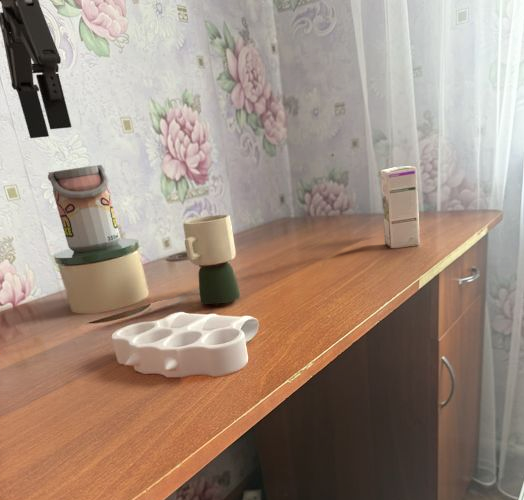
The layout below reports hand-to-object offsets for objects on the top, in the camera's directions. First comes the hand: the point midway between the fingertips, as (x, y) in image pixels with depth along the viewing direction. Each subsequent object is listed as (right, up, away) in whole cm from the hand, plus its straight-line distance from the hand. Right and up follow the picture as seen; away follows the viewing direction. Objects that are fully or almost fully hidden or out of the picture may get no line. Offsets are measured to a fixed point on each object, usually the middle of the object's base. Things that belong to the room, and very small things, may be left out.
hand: (49, 133), depth 73 cm
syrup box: (+59, -11, +26) cm, 65 cm away
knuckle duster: (+22, -33, -13) cm, 42 cm away
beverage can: (+5, -16, +6) cm, 18 cm away
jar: (+6, -25, +10) cm, 28 cm away
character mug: (+25, -25, +5) cm, 35 cm away
